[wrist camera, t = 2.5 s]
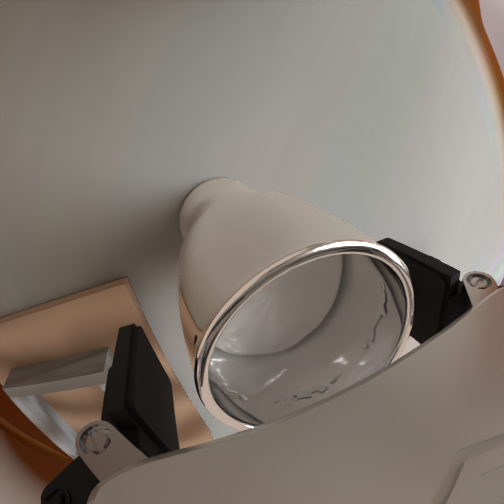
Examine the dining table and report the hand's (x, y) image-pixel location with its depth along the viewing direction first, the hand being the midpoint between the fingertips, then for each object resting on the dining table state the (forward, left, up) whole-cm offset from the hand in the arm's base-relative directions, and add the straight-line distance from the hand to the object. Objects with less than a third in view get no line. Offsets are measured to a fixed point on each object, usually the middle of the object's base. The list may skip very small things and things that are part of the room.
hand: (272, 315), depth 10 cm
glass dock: (+12, -18, -12) cm, 24 cm away
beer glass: (-1, 0, -12) cm, 12 cm away
